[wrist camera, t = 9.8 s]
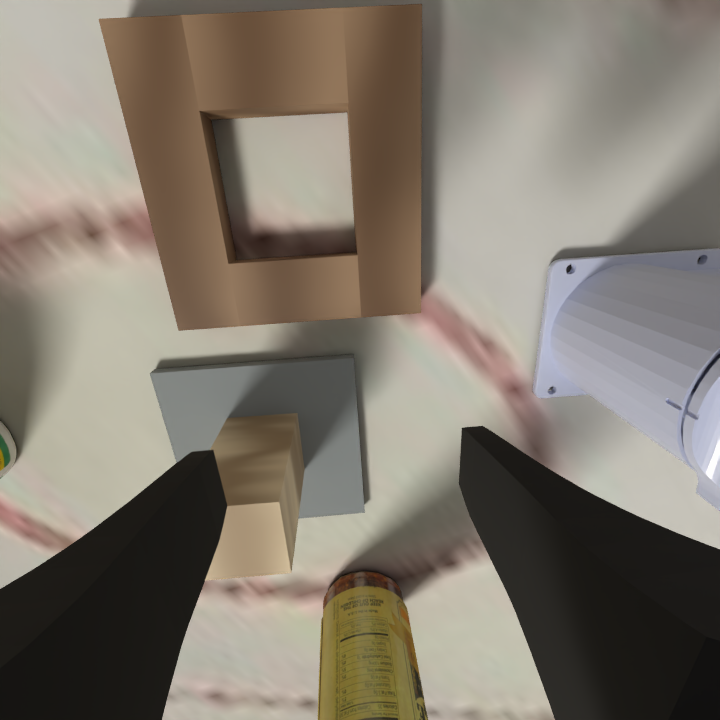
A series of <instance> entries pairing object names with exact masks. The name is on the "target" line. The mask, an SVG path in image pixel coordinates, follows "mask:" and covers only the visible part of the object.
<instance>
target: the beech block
mask: <svg viewBox="0 0 720 720" xmlns="http://www.w3.org/2000/svg"><path fill="white" fill-rule="evenodd" d="M210 450H214V454H215V458H216V462H217V466H218V470H219V474H220V478H221V482H222V486H223V490H224V494H225V498H226V502H227V510H226V515H225V519H224V524H223V528H222V532H221V536H220V540H219V543H218V546H217V549H216V552H215V554H214V557H213V560H212V563H211V565H210V568H209V571H208V574H207V576H206V579H205V580H217V579H228V578H240V577H251V576H263V575H274V574H286V573H291V571H292V563H293V556H294V548H295V540H296V532H297V525H298V517H299V509H300V501H301V494H302V486H303V478H304V470H305V468H304V461H303V453H302V445H301V438H300V430H299V422H298V415H297V413H290V414H276V415H262V416H248V417H234V418H227V419H226V421H225V423H224V425H223V427H222V428H221V430H220V432H219V434H218V436H217V438H216V440H215V441H214V443H213V445H212V447H211V449H210Z"/></svg>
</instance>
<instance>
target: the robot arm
mask: <svg viewBox="0 0 720 720" xmlns="http://www.w3.org/2000/svg"><path fill="white" fill-rule="evenodd" d="M699 257H700V260H699V262H698V263H697V260H698V258H699ZM570 264H571V267H572V268H571V270H570V271H569V272H568V273H567V272H566V268H567V266H568V265H570ZM550 387H553V388H552V390H551V391H548V389H549V388H550ZM533 393H534V394H535V395H536V396H537V397H538V398H553V397H565V396H577V395H590V396H591V397H593V398H594V399H595V400H597V401H598V402H600V403H601V404H602V405H604V406H605V407H607V408H608V409H609V410H611V411H612V412H613V413H615V414H616V415H618V416H619V417H620V418H622V419H623V420H625V421H626V422H627V423H629V424H630V425H632V426H633V427H634V428H636V429H637V430H639V431H640V432H641V433H643V434H644V435H645V436H647V437H648V438H650V439H651V440H652V441H654V442H655V443H657V444H658V445H659V446H661V447H662V448H664V449H665V450H666V451H668V452H669V453H671V454H672V455H673V456H675V457H676V458H677V459H679V460H680V461H682V462H683V463H684V464H686V465H687V466H689V467H690V468H691V469H693V470H694V471H695V472H696V473H697V477H698V485H697V489H696V493H697V494H698V495H699V496H701V497H702V498H703V499H705V500H706V501H707V502H708V503H710V504H711V505H712V506H714V507H715V508H716V509H717V510H719V511H720V248H712V249H698V250H683V251H668V252H654V253H639V254H625V255H610V256H596V257H581V258H567V259H557V260H555V261H553V262H552V263H551V265H550V266H549V269H548V277H547V284H546V292H545V299H544V307H543V314H542V322H541V330H540V337H539V345H538V352H537V360H536V367H535V375H534V383H533ZM459 485H460V488H461V491H462V494H463V497H464V501H465V503H466V506H467V509H468V512H469V515H470V517H471V519H472V521H473V523H474V526H475V528H476V530H477V532H478V534H479V536H480V538H481V540H482V542H483V544H484V546H485V548H486V550H487V552H488V554H489V556H490V559H491V561H492V563H493V565H494V567H495V569H496V571H497V573H498V575H499V577H500V579H501V581H502V583H503V585H504V587H505V589H506V591H507V593H508V596H509V598H510V600H511V602H512V605H513V607H514V609H515V612H516V614H517V617H518V619H519V622H520V625H521V627H522V630H523V633H524V635H525V638H526V640H527V643H528V646H529V648H530V651H531V653H532V656H533V659H534V662H535V664H536V667H537V670H538V673H539V676H540V678H541V681H542V684H543V687H544V689H545V692H546V695H547V698H548V700H549V703H550V706H551V709H552V712H553V715H554V718H555V720H720V549H717V548H714V547H712V546H709V545H706V544H704V543H701V542H699V541H696V540H693V539H691V538H688V537H686V536H683V535H681V534H678V533H676V532H673V531H671V530H669V529H666V528H664V527H662V526H659V525H657V524H655V523H652V522H650V521H648V520H645V519H643V518H641V517H639V516H636V515H634V514H632V513H630V512H628V511H625V510H623V509H621V508H619V507H617V506H615V505H613V504H611V503H609V502H607V501H605V500H603V499H601V498H599V497H597V496H595V495H593V494H592V493H590V492H588V491H586V490H584V489H582V488H580V487H579V486H577V485H575V484H573V483H572V482H570V481H568V480H566V479H565V478H563V477H561V476H560V475H558V474H556V473H555V472H553V471H551V470H550V469H548V468H546V467H545V466H543V465H542V464H540V463H538V462H537V461H535V460H534V459H532V458H531V457H529V456H528V455H526V454H525V453H523V452H521V451H520V450H518V449H517V448H516V447H514V446H513V445H511V444H510V443H508V442H507V441H505V440H504V439H502V438H501V437H499V436H498V435H496V434H495V433H493V432H492V431H490V430H488V429H487V428H485V427H483V426H477V427H465V428H462V438H461V456H460V475H459ZM226 510H227V502H226V498H225V494H224V490H223V486H222V482H221V478H220V474H219V470H218V466H217V462H216V458H215V454H214V450H204V451H193V452H191V453H189V454H188V455H186V456H185V457H184V458H182V459H181V460H180V461H179V462H177V463H176V464H175V465H174V466H172V467H171V468H170V469H169V470H168V471H166V472H165V473H164V474H163V475H161V476H160V477H159V478H158V479H157V480H155V481H154V482H153V483H152V484H150V485H149V486H148V487H147V488H146V489H144V490H143V491H142V492H141V493H139V494H138V495H137V496H136V497H134V498H133V499H132V500H131V501H129V502H128V503H127V504H126V505H124V506H123V507H122V508H120V509H119V510H118V511H116V512H115V513H114V514H112V515H111V516H110V517H108V518H107V519H106V520H104V521H103V522H102V523H100V524H99V525H98V526H97V527H95V528H94V529H93V530H91V531H90V532H88V533H87V534H86V535H84V536H83V537H81V538H80V539H79V540H77V541H76V542H74V543H73V544H71V545H70V546H68V547H67V548H65V549H64V550H62V551H61V552H59V553H58V554H56V555H55V556H53V557H52V558H50V559H49V560H47V561H46V562H44V563H43V564H41V565H39V566H38V567H36V568H35V569H33V570H32V571H30V572H28V573H27V574H25V575H23V576H22V577H20V578H18V579H16V580H15V581H13V582H11V583H10V584H8V585H6V586H5V587H3V588H1V589H0V720H162V717H163V713H164V709H165V705H166V701H167V697H168V693H169V689H170V686H171V682H172V678H173V675H174V671H175V667H176V664H177V660H178V656H179V653H180V649H181V646H182V643H183V640H184V637H185V634H186V630H187V627H188V625H189V622H190V619H191V617H192V614H193V611H194V608H195V606H196V603H197V600H198V598H199V595H200V592H201V590H202V587H203V584H204V582H205V579H206V576H207V574H208V571H209V568H210V565H211V563H212V560H213V557H214V554H215V552H216V549H217V546H218V543H219V540H220V536H221V532H222V528H223V524H224V519H225V515H226Z"/></svg>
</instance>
